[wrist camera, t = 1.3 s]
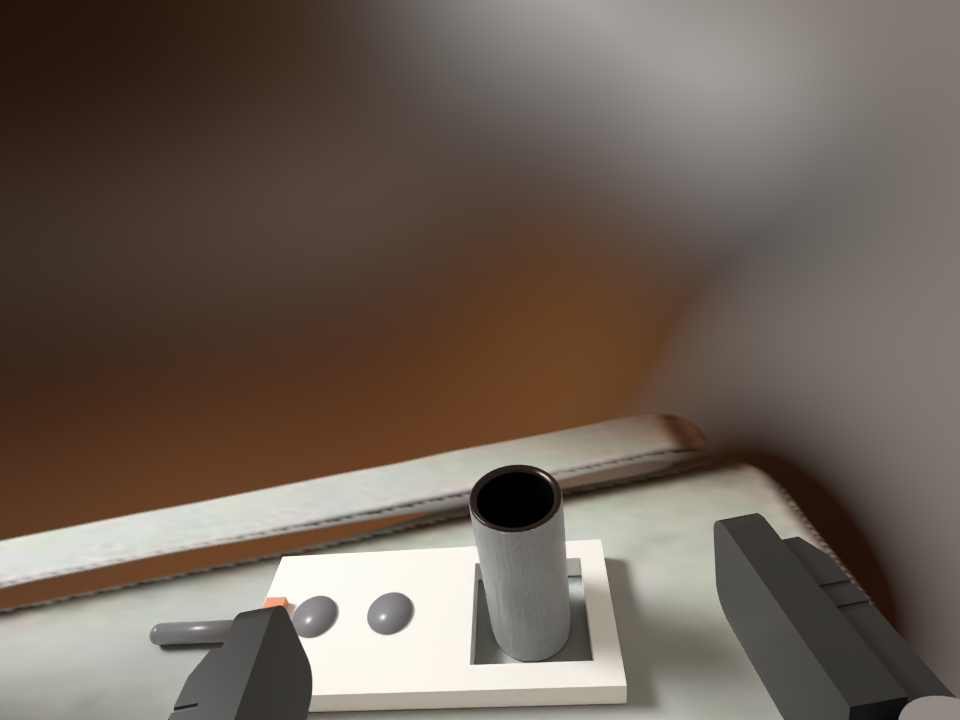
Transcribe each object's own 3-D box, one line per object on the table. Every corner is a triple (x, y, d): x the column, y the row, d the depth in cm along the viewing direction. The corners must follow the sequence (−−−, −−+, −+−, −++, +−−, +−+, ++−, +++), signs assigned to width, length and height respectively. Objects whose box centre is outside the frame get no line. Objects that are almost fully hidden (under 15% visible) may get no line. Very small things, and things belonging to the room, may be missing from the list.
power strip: (112, 717, 31) (94, 695, 30) (190, 578, 39) (177, 556, 38) (626, 703, 29) (626, 678, 28) (601, 556, 36) (600, 532, 35)
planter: (541, 578, 36) (527, 451, 30) (587, 634, 32) (581, 502, 27) (478, 615, 34) (452, 488, 29) (519, 679, 30) (499, 547, 25)
